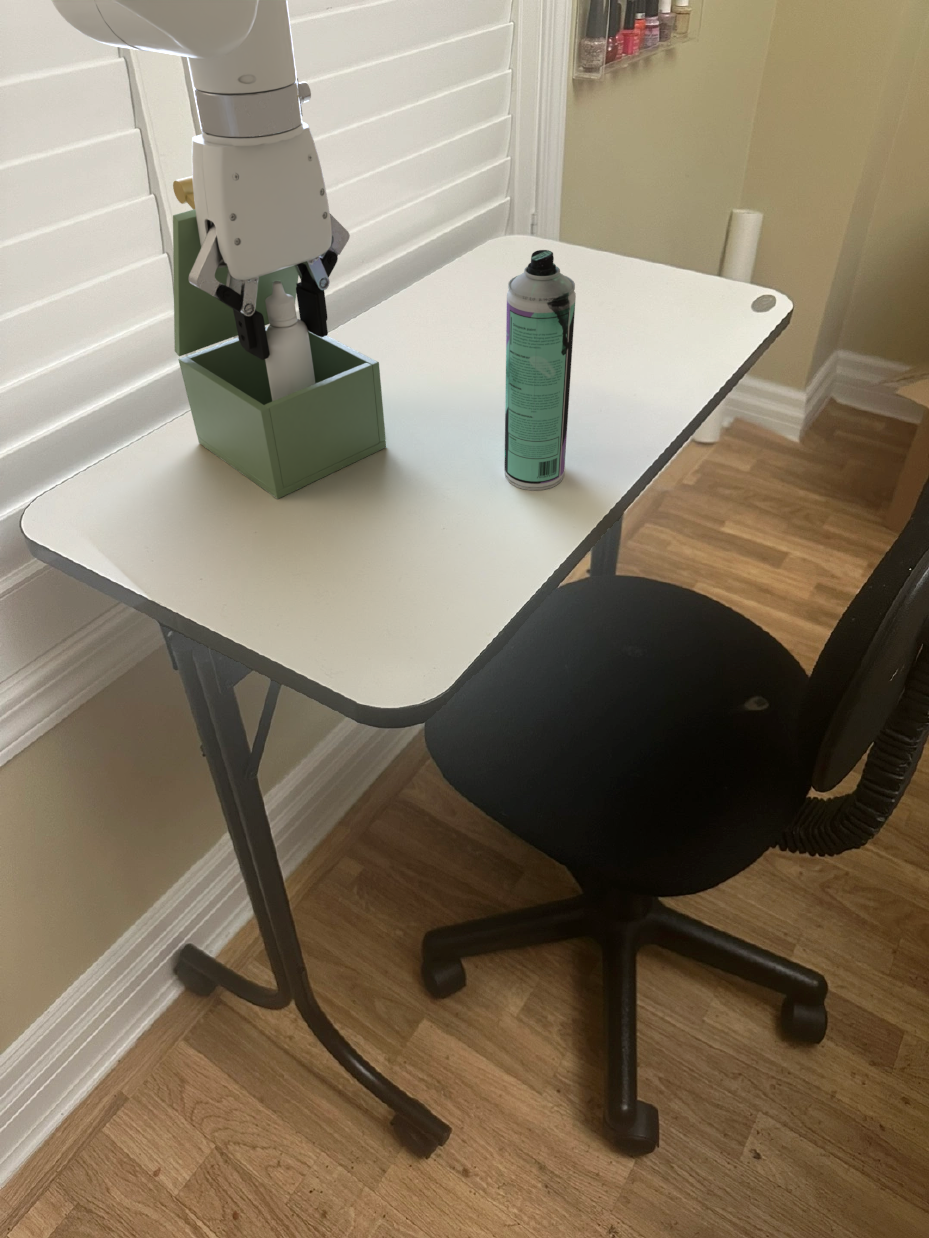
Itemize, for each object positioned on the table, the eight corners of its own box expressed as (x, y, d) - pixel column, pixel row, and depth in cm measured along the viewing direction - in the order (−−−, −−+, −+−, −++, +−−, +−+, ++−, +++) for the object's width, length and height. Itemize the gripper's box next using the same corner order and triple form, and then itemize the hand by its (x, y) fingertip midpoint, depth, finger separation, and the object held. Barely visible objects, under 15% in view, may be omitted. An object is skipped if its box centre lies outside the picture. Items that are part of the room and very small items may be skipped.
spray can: (574, 468, 84) (590, 248, 70) (545, 497, 80) (556, 272, 67) (523, 452, 86) (529, 236, 73) (493, 479, 83) (493, 258, 69)
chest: (386, 447, 87) (379, 362, 81) (277, 499, 81) (260, 411, 75) (304, 398, 95) (291, 317, 89) (198, 443, 88) (177, 358, 82)
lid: (310, 184, 76) (268, 140, 78) (178, 221, 70) (135, 172, 71) (293, 315, 88) (257, 275, 90) (179, 357, 82) (142, 312, 84)
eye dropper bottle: (258, 416, 83) (233, 287, 75) (304, 393, 86) (285, 266, 78) (290, 431, 81) (268, 300, 73) (335, 407, 84) (319, 278, 76)
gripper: (314, 84, 73) (338, 302, 86) (119, 124, 65) (177, 361, 77) (371, 99, 69) (389, 326, 81) (172, 144, 61) (224, 390, 73)
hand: (286, 341), depth 79 cm, fingers closed on eye dropper bottle, 5 cm apart
